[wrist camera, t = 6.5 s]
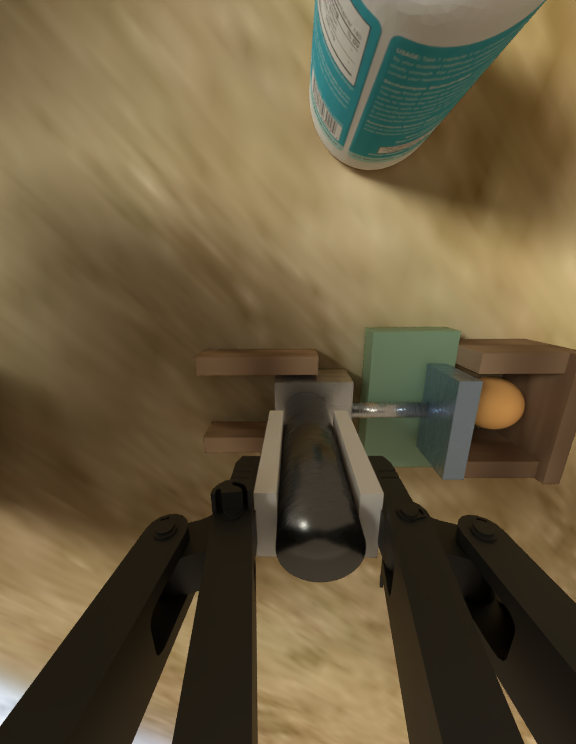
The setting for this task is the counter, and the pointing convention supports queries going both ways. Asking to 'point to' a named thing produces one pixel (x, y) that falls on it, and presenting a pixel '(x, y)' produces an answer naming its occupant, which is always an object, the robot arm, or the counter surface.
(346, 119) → the pill bottle
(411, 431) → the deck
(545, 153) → the counter surface
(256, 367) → the guide
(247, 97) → the counter surface
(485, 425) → the ball
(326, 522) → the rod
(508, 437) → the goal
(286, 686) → the counter surface
